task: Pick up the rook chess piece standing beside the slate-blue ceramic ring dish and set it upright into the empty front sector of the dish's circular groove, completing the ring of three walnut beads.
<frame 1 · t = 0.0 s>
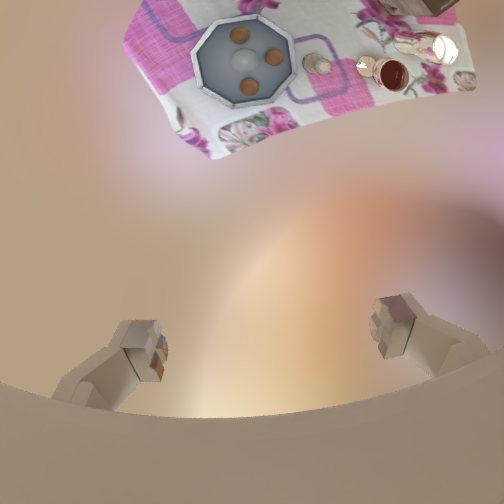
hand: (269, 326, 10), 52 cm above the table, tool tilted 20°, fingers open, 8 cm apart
walnut bead a: (249, 85, 47), point 1 cm above the table, touching ring dish
beer glass: (403, 41, 39), on the table
walnut bead c: (239, 35, 39), point 1 cm above the table, touching ring dish
walnut bead b: (273, 56, 43), point 1 cm above the table, touching ring dish
wineglass: (366, 66, 44), on the table
rook chess piece: (312, 63, 45), on the table
ring dish: (244, 60, 44), on the table
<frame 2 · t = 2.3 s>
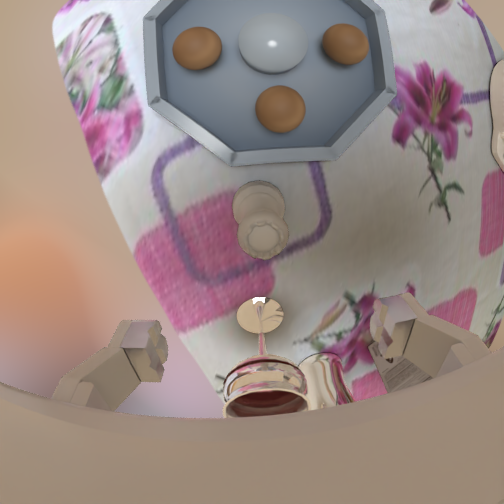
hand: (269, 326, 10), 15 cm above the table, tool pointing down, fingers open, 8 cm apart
walnut bead a: (200, 54, 17), point 1 cm above the table, touching ring dish
beer glass: (319, 366, 33), on the table
walnut bead c: (338, 49, 17), point 1 cm above the table, touching ring dish
coffee box: (397, 345, 33), on the table
walnut bead b: (277, 110, 19), point 1 cm above the table, touching ring dish
wineglass: (260, 315, 29), on the table
rook chess piece: (258, 204, 24), on the table
ring dish: (270, 50, 18), on the table
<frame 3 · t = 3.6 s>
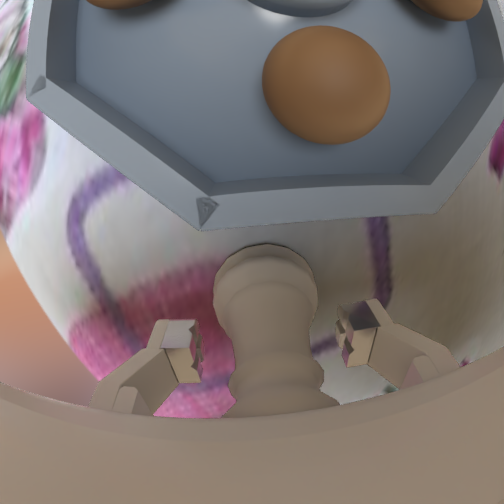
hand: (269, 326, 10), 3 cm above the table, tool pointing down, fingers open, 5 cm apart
walnut bead b: (311, 91, 8), point 1 cm above the table, touching ring dish
rook chess piece: (263, 283, 13), on the table
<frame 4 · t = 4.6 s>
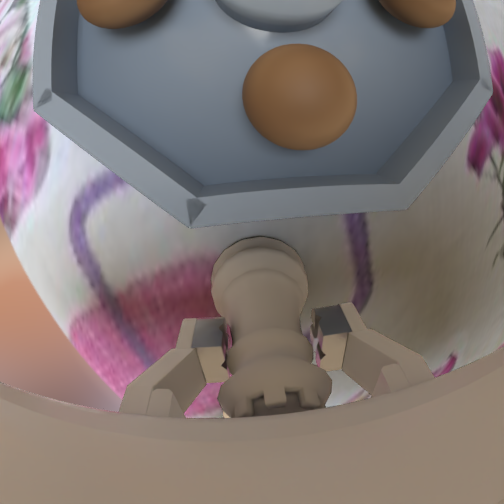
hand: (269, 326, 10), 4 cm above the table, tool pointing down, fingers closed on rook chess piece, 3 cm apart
walnut bead a: (139, 4, 7), point 1 cm above the table, touching ring dish
walnut bead c: (394, 3, 7), point 1 cm above the table, touching ring dish
walnut bead b: (289, 101, 9), point 1 cm above the table, touching ring dish
rook chess piece: (257, 274, 14), on the table, touching gripper
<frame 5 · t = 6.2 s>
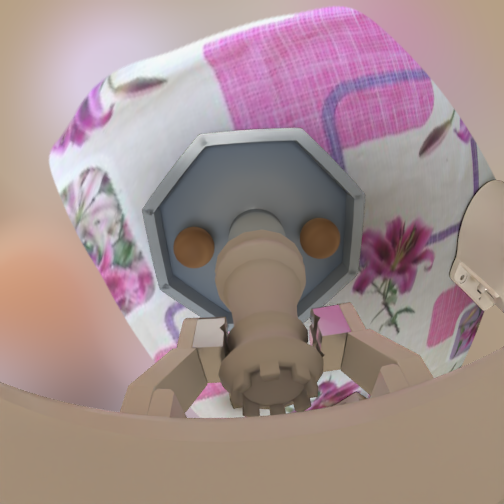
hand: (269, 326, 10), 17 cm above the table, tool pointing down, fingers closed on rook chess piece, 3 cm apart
walnut bead a: (196, 239, 25), point 1 cm above the table, touching ring dish
walnut bead c: (314, 231, 26), point 1 cm above the table, touching ring dish
rook chess piece: (259, 265, 14), point 12 cm above the table, touching gripper
ring dish: (255, 231, 26), on the table
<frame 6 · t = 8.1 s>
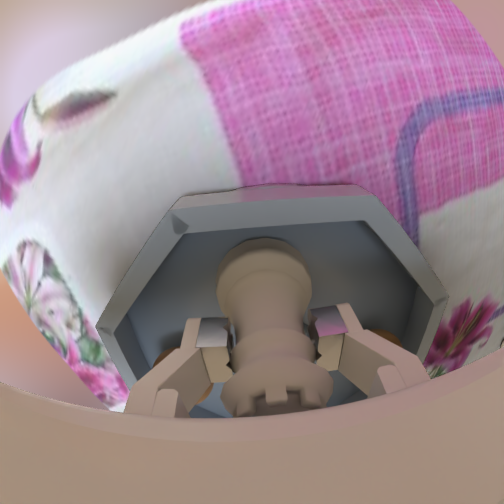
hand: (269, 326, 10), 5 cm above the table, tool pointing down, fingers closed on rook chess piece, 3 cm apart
walnut bead a: (187, 354, 16), point 1 cm above the table, touching ring dish
walnut bead c: (365, 339, 16), point 1 cm above the table, touching ring dish
rook chess piece: (262, 274, 14), point 1 cm above the table, touching gripper, ring dish
ring dish: (276, 339, 17), on the table
when the fingers open (5 cm above the table, at t = 8.1 s): rook chess piece stays where it is, resting on ring dish.
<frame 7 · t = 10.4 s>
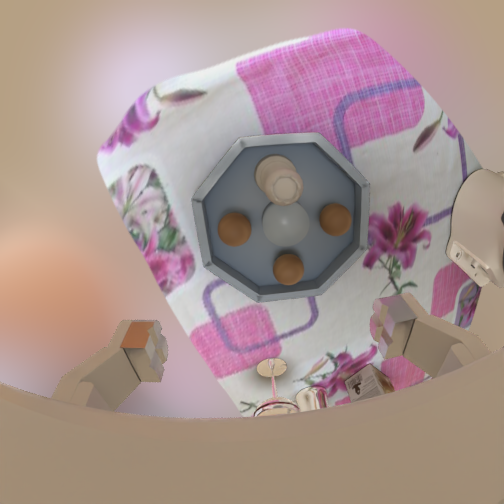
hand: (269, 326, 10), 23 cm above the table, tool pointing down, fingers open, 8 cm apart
walnut bead a: (234, 223, 31), point 1 cm above the table, touching ring dish
beer glass: (311, 394, 47), on the table
walnut bead c: (330, 214, 31), point 1 cm above the table, touching ring dish
coffee box: (367, 378, 46), on the table
walnut bead b: (286, 262, 33), point 1 cm above the table, touching ring dish
wineglass: (271, 367, 43), on the table
rook chess piece: (274, 173, 29), point 1 cm above the table, touching ring dish
ring dish: (282, 216, 32), on the table
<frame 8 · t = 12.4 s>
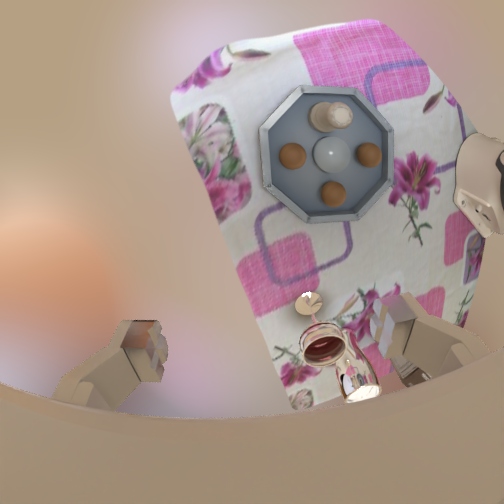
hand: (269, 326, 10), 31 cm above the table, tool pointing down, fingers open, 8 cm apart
walnut bead a: (290, 154, 36), point 1 cm above the table, touching ring dish
beer glass: (340, 338, 52), on the table
walnut bead c: (364, 153, 36), point 1 cm above the table, touching ring dish
coffee box: (390, 323, 51), on the table
walnut bead b: (329, 191, 38), point 1 cm above the table, touching ring dish
wineglass: (308, 303, 48), on the table
rook chess piece: (322, 117, 34), point 1 cm above the table, touching ring dish
ring dish: (326, 152, 37), on the table
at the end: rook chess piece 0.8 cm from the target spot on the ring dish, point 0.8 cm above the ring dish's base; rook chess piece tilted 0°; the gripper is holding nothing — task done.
